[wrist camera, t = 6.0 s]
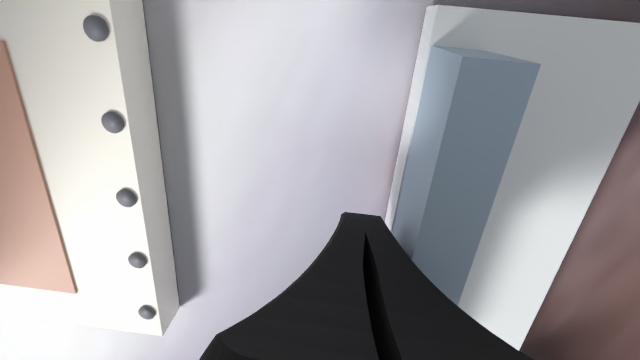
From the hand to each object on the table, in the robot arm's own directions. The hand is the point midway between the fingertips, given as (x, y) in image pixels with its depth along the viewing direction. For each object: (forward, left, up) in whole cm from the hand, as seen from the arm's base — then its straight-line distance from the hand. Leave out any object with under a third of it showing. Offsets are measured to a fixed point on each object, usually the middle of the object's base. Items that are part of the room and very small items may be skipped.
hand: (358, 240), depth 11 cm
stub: (+4, 0, -3) cm, 5 cm away
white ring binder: (-13, 0, -3) cm, 14 cm away
